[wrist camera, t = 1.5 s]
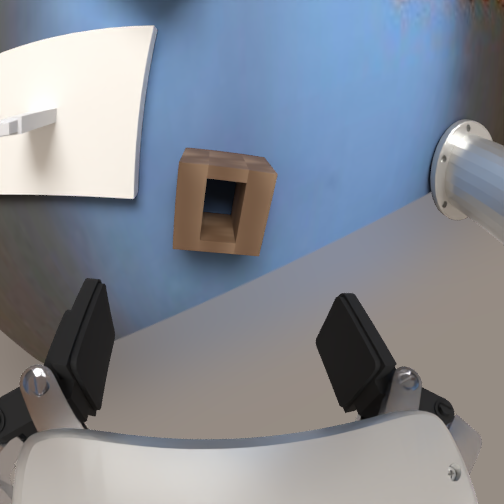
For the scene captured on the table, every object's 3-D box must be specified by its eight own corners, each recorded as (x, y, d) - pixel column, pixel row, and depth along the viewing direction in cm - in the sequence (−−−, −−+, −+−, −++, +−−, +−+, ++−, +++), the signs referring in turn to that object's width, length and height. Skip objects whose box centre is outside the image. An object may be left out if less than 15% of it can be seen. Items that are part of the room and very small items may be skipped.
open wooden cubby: (264, 157, 22) (277, 174, 18) (250, 226, 25) (258, 256, 21) (186, 147, 21) (179, 162, 16) (179, 219, 24) (172, 248, 20)
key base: (157, 29, 15) (132, 2, 9) (137, 192, 22) (111, 234, 16) (-7, 59, 11) (-57, 64, 5) (-9, 189, 18) (-51, 222, 12)
